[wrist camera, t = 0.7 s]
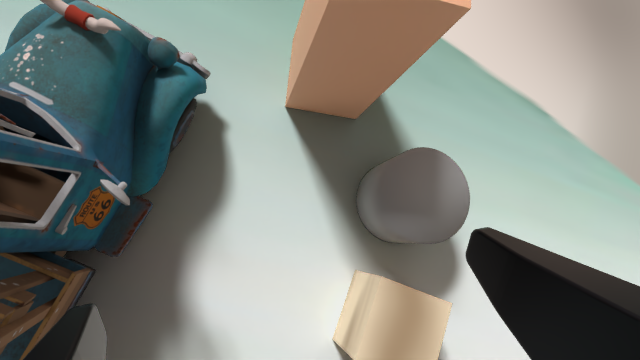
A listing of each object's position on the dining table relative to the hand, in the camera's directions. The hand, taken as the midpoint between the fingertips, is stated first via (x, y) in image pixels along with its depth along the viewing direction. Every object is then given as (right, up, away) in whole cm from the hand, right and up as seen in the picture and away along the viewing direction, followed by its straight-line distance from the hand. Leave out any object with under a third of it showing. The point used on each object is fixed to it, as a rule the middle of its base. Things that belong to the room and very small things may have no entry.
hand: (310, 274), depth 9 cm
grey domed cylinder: (+5, +1, +17) cm, 18 cm away
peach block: (+1, +9, +17) cm, 20 cm away
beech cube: (+4, -7, +16) cm, 17 cm away
